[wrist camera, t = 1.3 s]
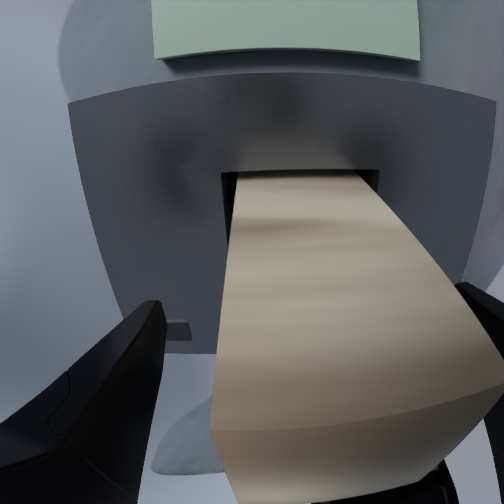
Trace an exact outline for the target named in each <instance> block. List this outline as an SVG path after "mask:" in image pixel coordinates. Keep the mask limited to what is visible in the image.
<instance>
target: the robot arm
mask: <svg viewBox="0 0 504 504" xmlns="http://www.w3.org/2000/svg"><path fill="white" fill-rule="evenodd" d="M454 287H455V288H456V289H457V291H458V292H459V293H460V295H461V296H462V297H463V299H464V300H465V302H466V303H467V304H468V306H469V307H470V309H471V310H472V312H473V313H474V314H475V316H476V317H477V319H478V320H479V322H480V323H481V325H482V326H483V328H484V329H485V331H486V332H487V334H488V336H489V337H490V339H491V340H492V342H493V343H494V345H495V347H496V348H497V350H498V351H499V353H500V355H501V356H502V358H503V360H504V303H503V302H501V301H499V300H498V299H496V298H494V297H493V296H491V295H489V294H487V293H486V292H484V291H482V290H480V289H479V288H477V287H475V286H473V285H472V284H470V283H468V282H459V283H456V284H455V285H454ZM166 336H167V320H166V317H165V313H164V310H163V306H162V303H161V302H160V301H159V300H147V301H145V302H144V303H143V304H141V305H140V306H139V307H138V308H137V309H136V310H134V311H133V312H132V313H131V314H130V315H129V316H127V317H126V318H125V319H124V320H123V321H122V322H120V323H119V324H118V325H117V326H116V327H115V328H114V329H112V330H111V331H110V332H109V333H108V334H107V335H106V336H104V337H103V338H102V339H101V340H100V341H99V342H98V343H97V344H95V345H94V346H93V347H92V348H91V349H90V350H89V351H88V352H86V353H85V354H84V355H83V356H82V357H81V358H80V359H79V360H77V362H75V363H74V364H73V365H72V366H71V367H70V368H69V369H68V371H65V372H64V373H63V374H62V375H61V376H60V377H59V378H57V379H56V380H55V381H54V382H53V383H52V384H50V386H48V387H47V388H46V389H45V390H43V391H42V392H41V393H40V394H38V395H37V396H36V397H35V398H33V399H32V400H31V401H30V402H28V403H27V404H26V405H25V406H23V407H22V408H20V409H19V410H18V411H17V412H15V413H14V414H12V415H11V416H10V417H9V418H7V419H6V420H5V421H3V422H2V423H0V504H137V503H138V502H137V500H138V495H139V489H140V483H141V477H142V472H143V466H144V460H145V455H146V450H147V444H148V439H149V434H150V429H151V424H152V419H153V414H154V410H155V405H156V400H157V396H158V390H159V386H160V382H161V377H162V371H163V362H164V353H165V344H166ZM483 419H484V422H485V426H486V429H487V433H488V437H489V441H490V444H491V449H492V453H493V456H494V457H493V458H494V463H495V468H496V473H497V477H498V484H499V489H500V496H501V502H502V504H504V393H503V395H502V396H501V397H500V398H499V400H498V401H497V402H496V403H495V405H494V406H493V407H492V408H491V409H490V411H489V412H488V413H487V414H486V415H485V417H484V418H483ZM311 504H459V501H458V496H457V492H456V489H455V486H454V483H453V480H452V478H451V475H450V473H449V470H448V468H447V466H446V463H445V460H444V459H443V460H442V461H441V462H440V463H439V464H438V465H437V466H436V467H434V468H433V469H432V470H431V471H430V472H429V473H428V474H426V475H425V476H424V477H423V478H422V479H421V480H419V481H417V482H414V483H411V484H407V485H403V486H400V487H396V488H392V489H388V490H384V491H380V492H375V493H371V494H366V495H361V496H355V497H350V498H344V499H338V500H331V501H324V502H316V503H311Z"/></svg>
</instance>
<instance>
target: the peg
mask: <svg viewBox="0 0 504 504" xmlns="http://www.w3.org/2000/svg"><path fill="white" fill-rule="evenodd" d="M503 393H504V360H503V358H502V356H501V355H500V353H499V351H498V350H497V348H496V347H495V345H494V343H493V342H492V340H491V339H490V337H489V336H488V334H487V332H486V331H485V329H484V328H483V326H482V325H481V323H480V322H479V320H478V319H477V317H476V316H475V314H474V313H473V312H472V310H471V309H470V307H469V306H468V304H467V303H466V302H465V300H464V299H463V297H462V296H461V295H460V293H459V292H458V291H457V289H456V288H455V287H454V285H453V284H452V283H451V281H450V280H449V279H448V277H447V276H446V275H445V273H444V272H443V271H442V269H441V268H440V267H439V266H438V264H437V263H436V262H435V261H434V259H433V258H432V257H431V256H430V254H429V253H428V252H427V251H426V249H425V248H424V247H423V246H422V245H421V243H420V242H419V241H418V240H417V239H416V237H415V236H414V235H413V234H412V233H411V232H410V230H409V229H408V228H407V227H406V226H405V225H404V224H403V222H402V221H401V220H400V219H399V218H398V217H397V216H396V214H395V213H394V212H393V211H392V210H391V209H390V208H389V207H388V206H387V205H386V203H385V202H384V201H383V200H382V199H381V198H380V197H379V196H378V195H377V194H376V193H375V192H374V191H373V190H372V189H371V188H370V187H369V185H368V184H367V183H366V182H365V181H364V180H363V179H362V178H361V177H360V176H359V175H358V174H357V173H356V172H355V171H354V170H353V169H287V170H259V171H238V179H237V186H236V194H235V201H234V209H233V217H232V224H231V232H230V240H229V248H228V257H227V265H226V273H225V282H224V291H223V299H222V308H221V317H220V326H219V336H218V345H217V355H216V364H215V374H214V384H213V395H212V405H211V416H210V427H209V431H210V434H211V436H212V439H213V442H214V445H215V447H216V450H217V452H218V455H219V458H220V460H221V463H222V465H223V468H224V470H225V473H226V475H227V477H228V480H229V482H230V485H231V487H232V489H233V492H234V494H235V497H236V499H237V501H238V503H239V504H306V503H316V502H324V501H331V500H338V499H344V498H350V497H355V496H361V495H366V494H371V493H375V492H380V491H384V490H388V489H392V488H396V487H400V486H403V485H407V484H411V483H414V482H417V481H419V480H421V479H422V478H423V477H424V476H425V475H426V474H428V473H429V472H430V471H431V470H432V469H433V468H434V467H436V466H437V465H438V464H439V463H440V462H441V461H442V460H443V459H444V458H445V457H446V456H447V455H448V454H450V453H451V452H452V451H453V450H454V449H455V448H456V446H458V445H459V444H460V443H461V441H462V440H464V438H465V437H466V436H467V435H468V434H469V433H470V432H471V431H472V430H473V429H474V428H475V427H476V426H477V425H478V423H479V422H480V421H481V420H482V419H483V418H484V417H485V415H486V414H487V413H488V412H489V411H490V409H491V408H492V407H493V406H494V405H495V403H496V402H497V401H498V400H499V398H500V397H501V396H502V395H503Z"/></svg>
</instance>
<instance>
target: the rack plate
mask: <svg viewBox="0 0 504 504" xmlns="http://www.w3.org/2000/svg"><path fill="white" fill-rule="evenodd" d="M68 110H69V117H70V123H71V130H72V136H73V141H74V147H75V152H76V157H77V162H78V167H79V172H80V176H81V181H82V185H83V190H84V194H85V198H86V202H87V206H88V210H89V214H90V217H91V221H92V225H93V228H94V232H95V235H96V239H97V242H98V246H99V249H100V252H101V255H102V258H103V262H104V265H105V268H106V271H107V274H108V277H109V280H110V283H111V286H112V289H113V291H114V294H115V297H116V300H117V303H118V305H119V308H120V311H121V313H122V316H123V319H125V318H126V317H127V316H129V315H130V314H131V313H132V312H133V311H134V310H136V309H137V308H138V307H139V306H140V305H141V304H143V303H144V302H145V301H147V300H159V301H160V302H161V303H162V306H163V310H164V313H165V317H166V320H167V336H166V344H165V353H180V354H184V353H185V354H217V345H218V336H219V326H220V317H221V308H222V299H223V291H224V282H225V273H226V265H227V257H228V248H229V240H230V232H231V224H232V221H231V209H230V197H229V185H228V173H227V172H238V171H259V170H287V169H358V171H357V174H358V175H359V176H360V177H361V178H362V179H363V180H364V181H365V182H366V183H367V184H368V185H369V187H370V188H371V189H372V190H373V191H374V192H375V193H376V194H377V195H378V196H379V197H380V198H381V199H382V200H383V201H384V202H385V203H386V205H387V206H388V207H389V208H390V209H391V210H392V211H393V212H394V213H395V214H396V216H397V217H398V218H399V219H400V220H401V221H402V222H403V224H404V225H405V226H406V227H407V228H408V229H409V230H410V232H411V233H412V234H413V235H414V236H415V237H416V239H417V240H418V241H419V242H420V243H421V245H422V246H423V247H424V248H425V249H426V251H427V252H428V253H429V254H430V256H431V257H432V258H433V259H434V261H435V262H436V263H437V264H438V266H439V267H440V268H441V269H442V271H443V272H444V273H445V275H446V276H447V277H448V279H449V280H450V281H451V283H452V284H453V285H455V284H456V283H459V282H460V281H461V278H462V275H463V272H464V269H465V266H466V263H467V259H468V256H469V253H470V249H471V246H472V242H473V239H474V235H475V232H476V228H477V224H478V220H479V216H480V211H481V207H482V203H483V198H484V193H485V188H486V183H487V178H488V172H489V166H490V159H491V152H492V145H493V137H494V127H495V116H496V101H494V100H490V99H487V98H483V97H479V96H476V95H472V94H468V93H464V92H459V91H455V90H450V89H446V88H441V87H436V86H431V85H425V84H420V83H414V82H408V81H401V80H394V79H386V78H378V77H368V76H358V75H345V74H328V73H250V74H233V75H220V76H209V77H199V78H191V79H183V80H176V81H169V82H162V83H156V84H150V85H145V86H139V87H134V88H129V89H124V90H119V91H115V92H110V93H106V94H102V95H98V96H94V97H90V98H86V99H82V100H79V101H75V102H72V103H68Z"/></svg>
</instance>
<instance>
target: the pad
mask: <svg viewBox="0 0 504 504" xmlns="http://www.w3.org/2000/svg"><path fill="white" fill-rule="evenodd" d="M151 1H152V24H153V41H154V56H155V59H157V60H167V59H173V58H180V57H187V56H195V55H203V54H213V53H224V52H238V51H258V50H311V51H331V52H344V53H355V54H365V55H373V56H381V57H388V58H394V59H400V60H406V61H420V38H419V20H418V7H417V0H151Z"/></svg>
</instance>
